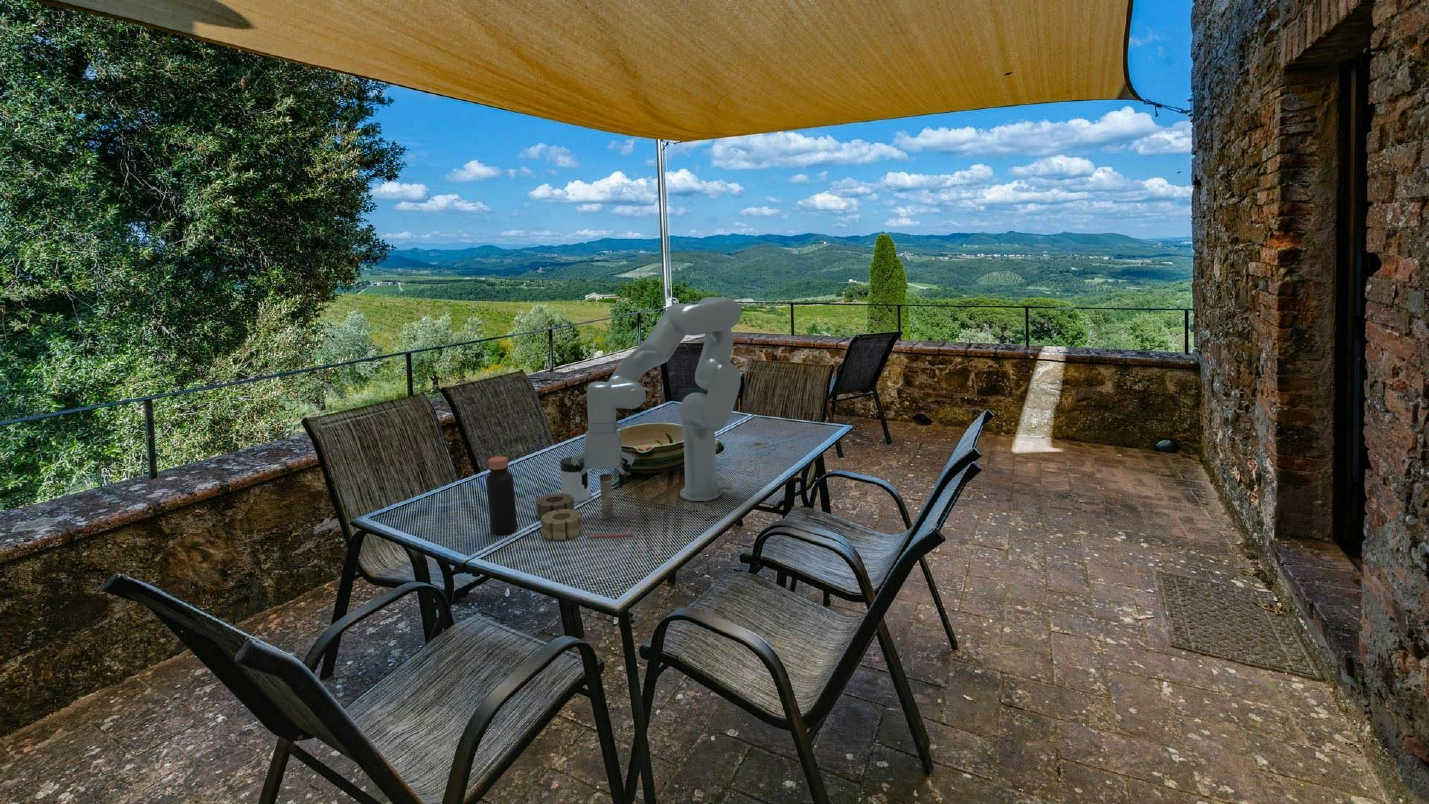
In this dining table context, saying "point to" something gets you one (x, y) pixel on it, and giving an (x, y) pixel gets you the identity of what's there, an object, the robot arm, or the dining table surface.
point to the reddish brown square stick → (610, 535)
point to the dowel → (606, 495)
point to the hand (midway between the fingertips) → (603, 487)
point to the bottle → (501, 497)
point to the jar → (573, 480)
